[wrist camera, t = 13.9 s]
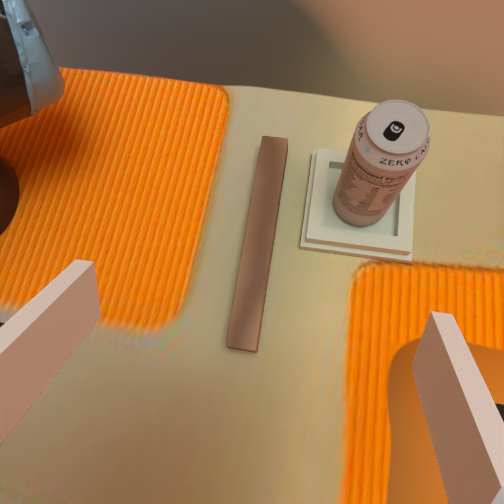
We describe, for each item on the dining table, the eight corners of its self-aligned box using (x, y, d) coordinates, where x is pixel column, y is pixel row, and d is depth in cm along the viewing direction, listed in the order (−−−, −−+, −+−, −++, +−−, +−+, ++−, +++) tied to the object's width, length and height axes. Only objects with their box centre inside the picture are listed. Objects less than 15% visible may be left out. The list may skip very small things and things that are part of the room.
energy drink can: (396, 199, 45) (453, 118, 31) (366, 239, 44) (410, 175, 30) (351, 170, 47) (386, 80, 32) (321, 208, 45) (342, 132, 31)
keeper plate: (299, 248, 45) (301, 241, 43) (312, 155, 49) (313, 143, 46) (408, 263, 44) (416, 257, 42) (413, 166, 47) (420, 155, 45)
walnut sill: (229, 347, 43) (225, 346, 40) (263, 149, 49) (262, 135, 46) (256, 352, 42) (255, 350, 39) (287, 152, 49) (288, 138, 46)
